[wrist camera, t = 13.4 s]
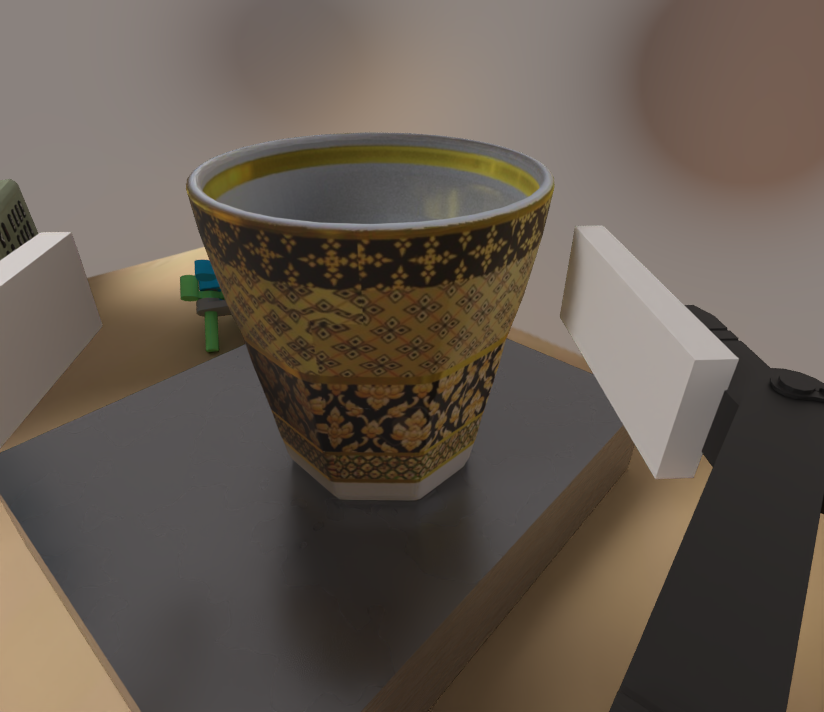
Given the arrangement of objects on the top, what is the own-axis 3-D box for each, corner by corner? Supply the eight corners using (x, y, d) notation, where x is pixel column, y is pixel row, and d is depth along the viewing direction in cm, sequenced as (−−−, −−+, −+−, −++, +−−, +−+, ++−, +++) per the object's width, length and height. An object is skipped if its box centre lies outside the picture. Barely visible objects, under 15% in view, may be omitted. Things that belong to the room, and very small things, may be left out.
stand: (21, 537, 22) (-21, 461, 20) (380, 344, 35) (378, 285, 32) (260, 914, 13) (232, 852, 11) (627, 467, 26) (648, 397, 23)
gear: (372, 277, 39) (344, 211, 29) (380, 359, 38) (354, 319, 28) (218, 297, 40) (140, 239, 30) (221, 379, 38) (141, 346, 28)
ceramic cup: (569, 441, 21) (625, 169, 16) (366, 612, 15) (345, 268, 10) (350, 320, 29) (337, 111, 23) (160, 401, 23) (85, 146, 17)
